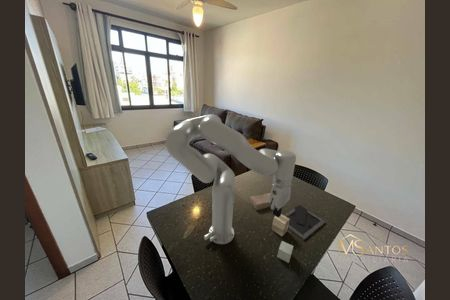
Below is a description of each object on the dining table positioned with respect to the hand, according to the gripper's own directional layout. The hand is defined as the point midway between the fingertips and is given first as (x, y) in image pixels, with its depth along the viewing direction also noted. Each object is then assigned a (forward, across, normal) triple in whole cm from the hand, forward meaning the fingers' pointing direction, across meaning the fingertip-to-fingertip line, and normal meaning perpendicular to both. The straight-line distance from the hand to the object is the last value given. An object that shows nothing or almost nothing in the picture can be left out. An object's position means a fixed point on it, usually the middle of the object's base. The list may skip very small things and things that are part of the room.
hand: (276, 215), depth 80 cm
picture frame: (+16, +22, -4) cm, 28 cm away
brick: (+15, +19, +19) cm, 31 cm away
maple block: (+15, +7, +1) cm, 17 cm away
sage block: (+15, -4, -8) cm, 18 cm away
